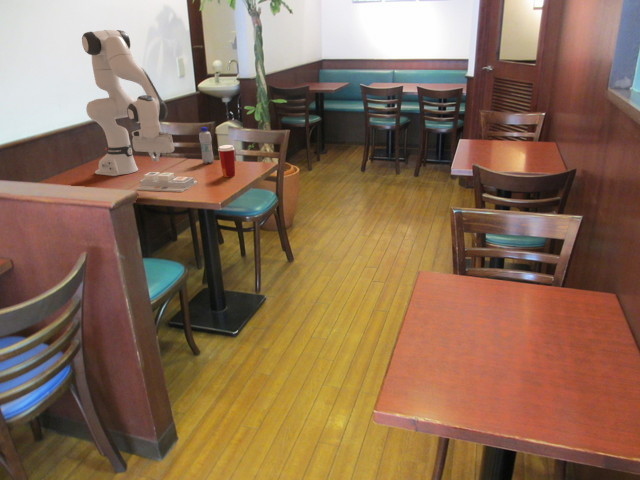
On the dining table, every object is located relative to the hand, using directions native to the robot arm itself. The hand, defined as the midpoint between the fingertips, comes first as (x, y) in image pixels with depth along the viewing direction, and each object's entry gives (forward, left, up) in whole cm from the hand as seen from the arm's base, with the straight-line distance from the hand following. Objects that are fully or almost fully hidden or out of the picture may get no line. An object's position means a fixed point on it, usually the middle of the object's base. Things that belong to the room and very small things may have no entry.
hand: (155, 160), depth 242 cm
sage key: (+5, 0, -9) cm, 10 cm away
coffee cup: (+27, +22, -12) cm, 36 cm away
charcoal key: (-3, 0, -9) cm, 10 cm away
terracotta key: (+12, 0, -11) cm, 16 cm away
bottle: (+3, +46, -12) cm, 47 cm away
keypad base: (+5, 0, -12) cm, 13 cm away
